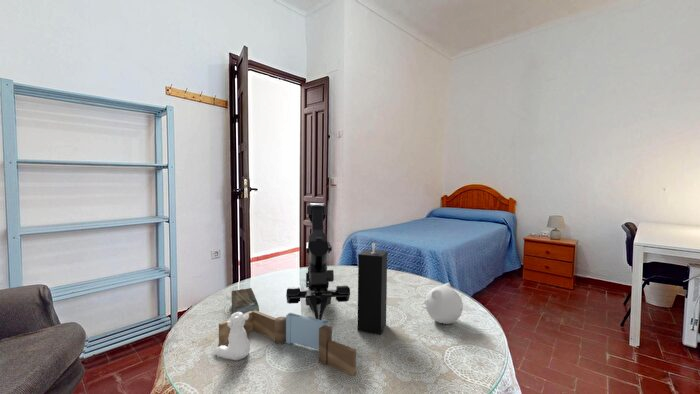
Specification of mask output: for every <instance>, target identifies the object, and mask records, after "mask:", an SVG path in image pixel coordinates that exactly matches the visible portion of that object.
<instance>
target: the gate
mask: <svg viewBox="0 0 700 394" xmlns="http://www.w3.org/2000/svg"><path fill="white" fill-rule="evenodd" d="M285 317H286V342H285V343H286V344H289V345H290V344H294V345H295V344H296V345H299V346H304V347H307V348H311V349H314V350H318V351H319V328H320V327H322V326H324V325H327V326H330V321H328V320H323V319H322V320H319V318H318V319H315V317H309V316H304V315H300V314H296V313H292V312H289V313H287V314H286V315H285Z"/></svg>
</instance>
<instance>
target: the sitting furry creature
mask: <svg viewBox="0 0 700 394" xmlns="http://www.w3.org/2000/svg"><path fill="white" fill-rule="evenodd" d="M248 318H249V314H247V315H243V313H242V312H236V313H232V314H231V315H230V317H229V318H228V319H227V320H228V321H227V320H226V321H227V323H228V324H227V325H228V326H229V328H230V329H231V330H230V334H229V337H228V340H229V342H228V344H227V345H228V346H226V345H219V346H217V347H215V348H214V355H216V356H217V358H221V359H222V358H223V359H227V360H231V361H240V360H243V359H245V358H247V356H248V355H249V354H250V350H251V347H250V346H251V343H250V340H249V338H248V333H246V330H245V329H244V327H243V326H244V324H245V320H248Z"/></svg>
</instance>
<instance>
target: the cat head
mask: <svg viewBox="0 0 700 394" xmlns="http://www.w3.org/2000/svg"><path fill="white" fill-rule="evenodd" d="M423 305H424V308H423V309H422V310H421V311H420V313H422V312H423V311H424V310H425V309H426V312H427V314H428V315H429V317H430V318H432V320H434V321H435V322H437V323H439V324H442V323H443V325H449V324H452V323H454V322H456V321H458V320H459V319H460V317H461V316H462V313H463V310H464V304H463V300H462V298H461V295H460V294H459V293H458V292H457V291H456V290H455V289H454V288H452V287H451V283H450V282H447V283H444V284H442V285H438V286H435V287H433V288H432V289H430V290H429V291H428V293H427V294H426V296H425V301H424V302H423V303H422V304H421V306H423Z"/></svg>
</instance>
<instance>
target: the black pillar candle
mask: <svg viewBox="0 0 700 394" xmlns="http://www.w3.org/2000/svg"><path fill="white" fill-rule="evenodd" d="M375 249H376V242H372V243H371V249H364V250H363V251H361V252H360V253H357V260H358V261H357V262H358V263H357V268H358V269H357V276H358V277H357V331H358V332H361V331H362V332H363V333H368V334H369V333H370V334H375V335H379V336H380V335H382V333H383V332H384V329H385V328H386V326H387V298H388V297H387V293H388V292H387V291H388V290H387V289H388V285H387V284H388V283H387V282H388V251H387V250H375Z"/></svg>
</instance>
